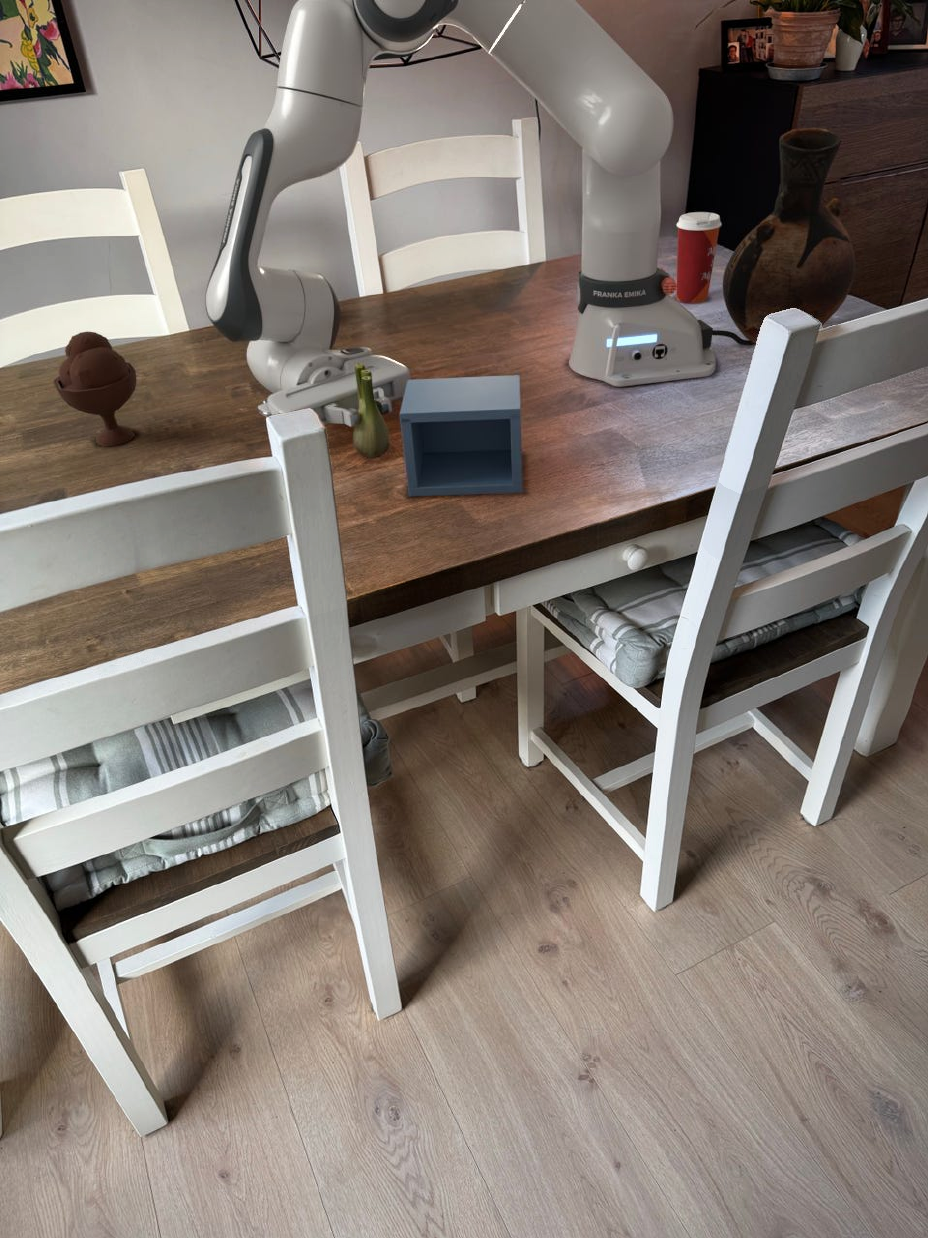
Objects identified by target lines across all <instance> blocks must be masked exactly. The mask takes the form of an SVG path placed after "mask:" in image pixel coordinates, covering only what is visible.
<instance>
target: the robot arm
mask: <svg viewBox="0 0 928 1238" xmlns="http://www.w3.org/2000/svg"><path fill="white" fill-rule="evenodd" d="M442 25H450V26H455V27H456V28H459V29H460V30H462V31H464V32H465V33H467V34H469V35H470V36H471V37H472V38H473V39H474V40H475V41H476V42H477V43H478V44H479V45H480V46H481V47H482V48H483V49H484V50H485V51H486V52H487V53H488V54H489V55H490V56H491V57H492V58H493V59H494V60H495V61H496V62H497V63H498V64H499V65H500V66H501V67H502V68H503V69H504V70H505V71H507V73H509V74H510V75H511V77H513V79H515V80H516V81H517V82H518V83H519V84H520V85H521V86H522V87H523V88H524V89H526V91H527V92H528V93H529V94H530V95H532V97H533V98H534V99H535V100H536V101H537V102H538V103H539V104H540V105H541V106H542V107H543V108H544V109H545V110H546V111H547V113H548V114H549V115H550V116H551V117H552V118H553V119H554V120H555V121H556V122H557V123H558V125H560V126H561V127H562V128H563V130H564V131H565V132H566V133H567V134H568V135H569V136H570V137H571V138H572V139H573V140H574V141H575V142H576V143H577V144H578V145H579V146H580V147H581V148H582V149H581V150H582V151H581V158H582V159H581V162H582V163H581V167H582V168H581V169H582V171H581V174H582V176H581V177H582V178H581V179H582V181H581V182H582V183H581V184H582V186H581V188H582V190H581V191H582V196H581V197H582V201H581V202H582V219H581V220H582V223H581V225H582V228H581V229H582V230H581V269H579V271H578V275H577V280H576V281H577V283H576V307H577V310H578V317H577V327H576V331H575V332H576V333H575V338H574V343H573V347H572V350H571V354H570V358H569V360H568V366H569V368H570V369H571V370H572V371H573V372H575V373H576V374H578V375H580V376H583V377H586V378H589V379H592V380H593V379H594V380H597V381H598V380H599V381H602V382H605V383H606V384H609V385H610V386H613V387H618V388H619V387H620V388H622V387H630V386H638V385H646V384H647V385H648V384H654V383H656V384H657V383H662V382H672V381H680V380H687V379H695V378H704V377H709V376H711V375H712V374H713V373H714V372H715V371H716V366H717V365H716V364H717V363H716V356H715V353H714V352H713V349H712V342H713V341H712V340H713V336H714V337H715V336H720V337H727V338H730V339H732V340H733V341H734V342H735V343H736V344H738V345H742V346H756V344H755V343H753V342H751V341H750V340H748V339H744V338H741V337H740V336H739V335H738V334H737V333H735V332H732V331H730V330H729V331H728V330H724V329H723V330H722V329H721V330H720V329H714V328H713V327H712V326H711V325H709V324H707V323H706V322H705V321H703V320H702V319H697V317H696V316H695V315H694V314H693V313H692V312H691V311H690V310H688V309H687V308H686V307H685V306H684V305H682V304H681V302H679V301H678V300H677V299H674V297H672V296H671V295H673V294H675V292H676V288H677V286H676V285H677V284H676V280H675V279H674V278H673V277H671V276H670V273H668V272H666V270H665V269H664V268H663V267H661V268H660V267H659V266H658V262H659V261H658V259H659V248H660V247H659V245H660V234H661V233H660V232H661V231H660V230H661V220H662V218H661V217H662V205H661V204H662V203H661V198H662V197H661V159H662V158H663V157H664V155H665V154H666V152H667V151H668V148H669V146H670V143H671V140H672V137H673V134H674V125H675V124H674V123H675V122H674V121H675V120H674V112H673V107H672V105H671V103H670V101H669V98H668V96H667V95H666V93H665V92H664V91H663V90H662V89H661V88H660V86H659V85H658V84H657V83H656V82H655V81H654V80H653V79H652V78H651V77H650V76H649V75H648V74H647V73H646V72H645V71H644V70H643V69H642V67H640V66H639V65H638V64H637V63H636V62H635V61H634V60H633V58H631V57H630V55H629V54H628V53H626V51H625V50H624V49H623V48H622V47H621V46H620V45H619V44H618V43H617V42H616V41H615V40H614V39H613V38H612V37H611V36H610V34H608V33H607V32H606V31H605V30H604V29H603V28H602V27H601V25H600V24H599V23H598V22H597V21H596V20H595V19H594V18H593V17H592V16H591V15H590V14H589V13H588V12H587V11H586V10H585V9H584V8H583V7H582V6H581V5H580V3H578V1H576V0H297V1H296V2H295V4H294V5H293V7H292V8H291V11H290V15H289V19H288V22H287V25H286V30H285V33H284V38H283V42H282V48H281V54H280V59H279V66H278V71H277V73H278V74H277V80H276V81H277V82H276V91H275V98H274V103H273V106H272V109H271V112H270V114H269V116H268V118H267V121H266V122H265V124H264V125H263V127H262V128H261V129H257V130H256V131H254V132H253V133H251V134H250V136H249V137H248V140H247V142H246V144H245V146H244V149H243V152H242V155H241V158H240V162H239V165H238V169H237V172H236V177H235V182H234V184H233V189H232V192H231V193H232V194H231V198H230V203H229V206H228V212H227V216H226V219H225V224H224V229H223V232H222V237H221V240H220V241H221V242H220V245H219V250H218V254H217V257H216V259H215V262H214V265H213V267H212V270H211V273H210V276H209V278H208V280H207V281H208V282H207V285H206V290H205V295H204V296H205V299H204V304H205V306H204V307H205V312H206V316H207V317H208V319H209V321H210V323H211V324H212V325H213V326H214V328H215V329H216V330H217V331H218V332H219V333H220V334H221V335H222V336H224V338H226V339H228V340H229V341H230V342H234V343H237V342H241V343H242V342H249V343H248V345H247V349H246V362H247V365H248V367H249V370H250V372H251V373H252V375H253V376H254V378H255V380H256V381H257V382H258V383H259V384H260V385H262V386H263V388H265V389H266V390H268V391H269V392H271V393H272V394H269V396H268V397H267V398H266V399H264V400H262V403H261V404H259V405H257V411H258V413H259V414H260V415H262V416H263V417H266V418H268V417H267V416H270V415H274V414H278V413H287V412H292V411H295V410H299V409H305V408H311V409H313V410H314V411H315V412H316V413H317V414H318V415H319V417H320V419H321V421H322V422H323V423H324V424H325V425H324V426H327V425H329V424H336V425H337V424H339V425H347V426H348V427H349V428H351V427H355V425H357V424H359V423H361V420H360V419H359V418H360V414H359V412H358V409H359V399H358V390H357V382H356V374H355V365H356V364H359V363H360V364H364V366H365V370H368V371H371V373H372V385H373V392H374V398H375V403H376V405H377V408H378V410H379V412H380V413H381V415H382V416H384V415H387V414H390V413H392V412H393V407H392V402H393V401H396V400H399V399H401V398H402V399H403V398H404V393H405V389H406V385H407V381H408V380H412V376H411V372H410V369H409V368H408V367H407V366H406V365H404V364H403V363H400V362H398V361H397V360H394V359H392V358H390V357H387V356H384V355H379V354H373V350H372V349H371V348H369V347H367V346H360V347H352V348H344V349H333V348H334V345H335V343H336V340H337V338H338V334H339V330H340V325H341V324H340V323H341V307H340V302H339V299H338V296H337V294H336V292H335V290H334V288H333V286H332V285H331V283H330V282H329V281H328V280H327V278H326V277H325V276H324V275H323V274H321V273H315V272H309V271H303V270H295V269H282V268H275V267H267V266H260V265H259V258H260V253H261V249H262V245H263V241H264V237H265V233H266V230H267V225H268V221H269V217H270V212H271V209H272V206H273V203H274V202H275V200H276V199H277V197H278V196H279V195H280V194H281V193H282V192H283V191H285V190H286V189H287V188H289V187H290V186H293V185H295V184H298V183H302V182H304V181H309V180H312V179H313V180H314V179H316V178H321V177H324V176H327V175H329V174H331V173H333V172H335V171H336V170H338V169H340V168H341V167H342V166H343V165H344V164H346V163H347V162H348V160H349V159H350V158H351V157H352V155H353V154H354V153H355V150H356V146H357V145H358V140H359V135H360V131H361V123H362V115H363V106H364V99H365V98H364V97H365V91H366V82H367V79H368V74H369V70H370V67H371V64H372V63H373V61H382V60H391V59H402V58H403V59H404V58H407V57H411V56H413V55H415V54H416V53H419V52H420V51H421V50H422V49H424V48H425V47H426V45H427V44H428V43H429V42H430V41H431V39H432V37H433V36H434V35H435V33H436V31H437V29H438V27H439V26H442Z"/></svg>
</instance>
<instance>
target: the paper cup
mask: <svg viewBox="0 0 928 1238" xmlns="http://www.w3.org/2000/svg"><path fill="white" fill-rule="evenodd" d="M722 225H723V223H722V222H721V217H720V215H719V214H717V213H715V212H708V211H694V212H688V213H683V214H681V215H680V216H679V219H678V221H677V222H676V227H677V249H676V250H677V252H676V253H677V254H676V280H675V283H676V284H677V285H676V286H677V288H676V291H675V298H676V299H675V300H676V301H677V302H679V303H685V304H698V303H704V302H705V301H707V300H708V298H709V297H708V296H709V291H710V285H711V280H712V273H713V270H714V269H713V267H714V263H715V256H716V250H717V244H718V239H719V232H720V228H721V227H722Z"/></svg>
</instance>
